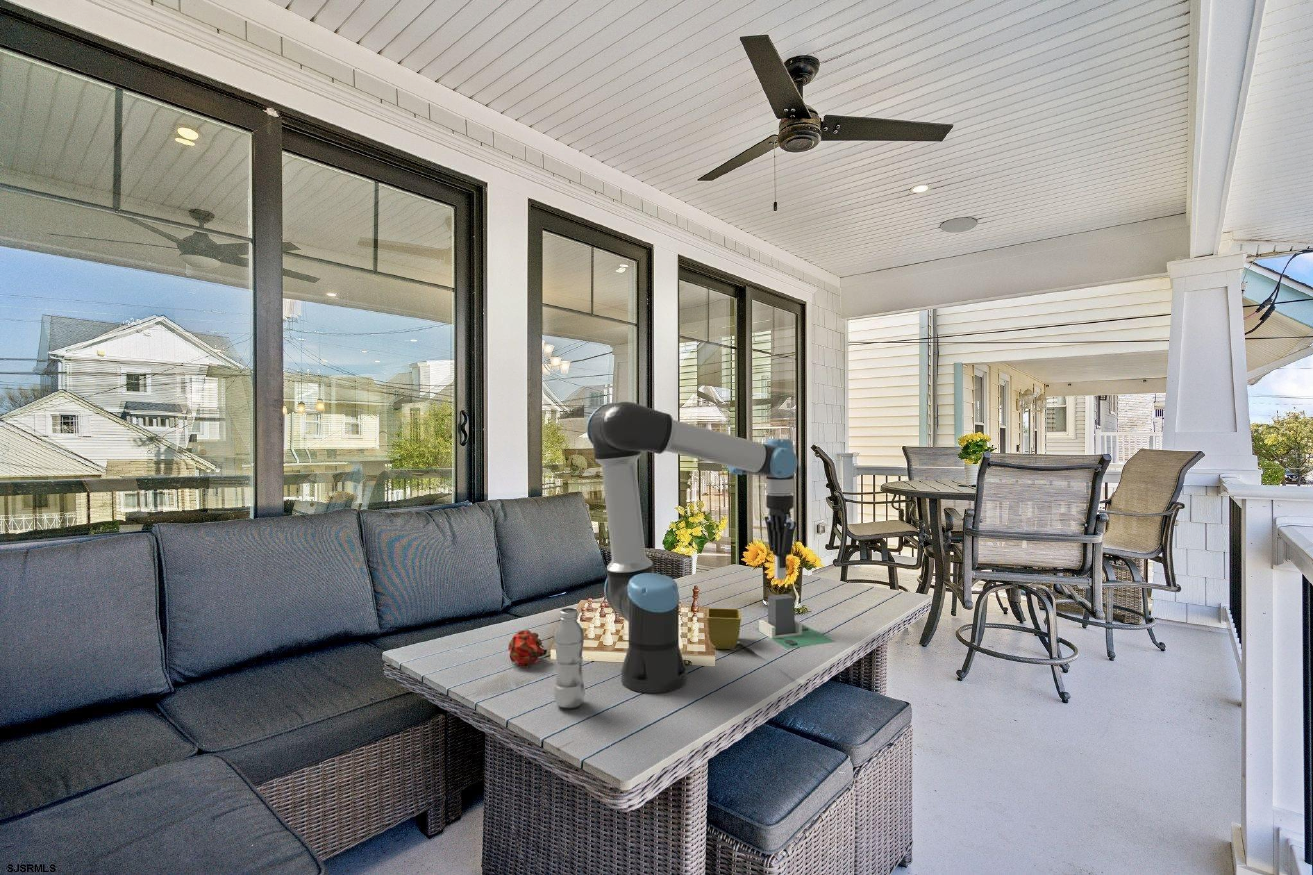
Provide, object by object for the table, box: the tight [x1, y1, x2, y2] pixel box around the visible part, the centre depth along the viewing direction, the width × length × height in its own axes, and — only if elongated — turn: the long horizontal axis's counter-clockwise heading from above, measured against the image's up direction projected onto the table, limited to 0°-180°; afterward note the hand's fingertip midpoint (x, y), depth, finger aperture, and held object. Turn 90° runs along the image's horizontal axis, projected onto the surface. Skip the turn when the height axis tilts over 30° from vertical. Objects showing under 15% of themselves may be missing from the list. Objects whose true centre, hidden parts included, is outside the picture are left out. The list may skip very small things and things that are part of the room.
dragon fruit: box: [508, 629, 548, 669], centre depth 151 cm, size 8×8×12 cm
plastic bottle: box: [553, 607, 586, 709], centre depth 128 cm, size 6×7×20 cm
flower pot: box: [706, 607, 742, 650], centre depth 162 cm, size 9×9×9 cm
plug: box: [767, 593, 796, 636], centre depth 170 cm, size 7×4×10 cm, turn 110°
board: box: [755, 619, 837, 649], centre depth 168 cm, size 15×17×4 cm
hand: (780, 578), depth 169 cm, fingers closed
